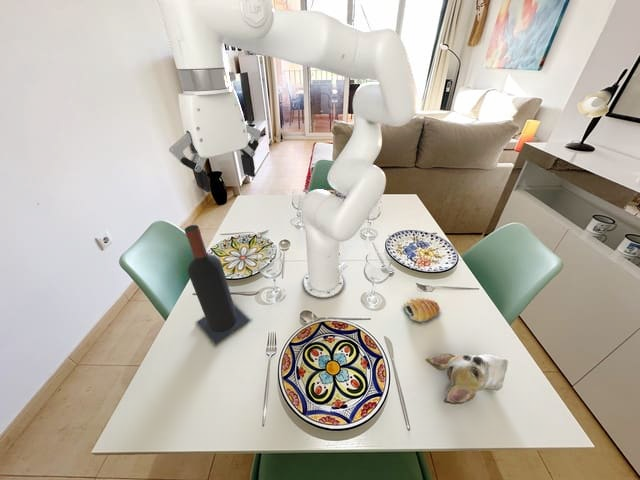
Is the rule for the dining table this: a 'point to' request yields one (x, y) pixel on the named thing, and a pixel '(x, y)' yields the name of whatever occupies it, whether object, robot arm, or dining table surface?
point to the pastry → (421, 309)
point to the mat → (221, 335)
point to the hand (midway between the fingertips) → (229, 182)
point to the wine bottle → (210, 284)
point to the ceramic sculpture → (470, 374)
